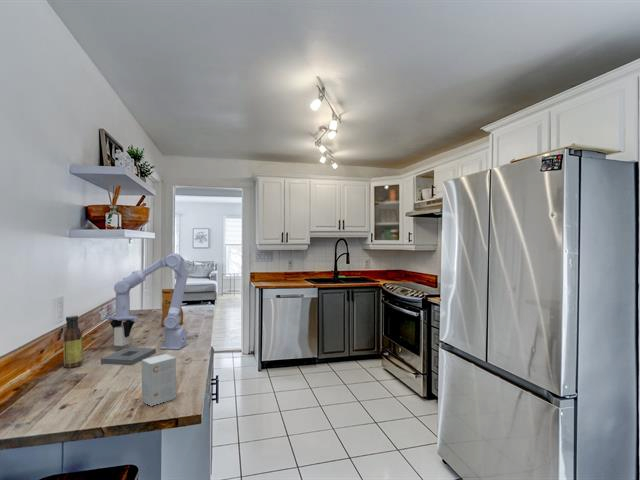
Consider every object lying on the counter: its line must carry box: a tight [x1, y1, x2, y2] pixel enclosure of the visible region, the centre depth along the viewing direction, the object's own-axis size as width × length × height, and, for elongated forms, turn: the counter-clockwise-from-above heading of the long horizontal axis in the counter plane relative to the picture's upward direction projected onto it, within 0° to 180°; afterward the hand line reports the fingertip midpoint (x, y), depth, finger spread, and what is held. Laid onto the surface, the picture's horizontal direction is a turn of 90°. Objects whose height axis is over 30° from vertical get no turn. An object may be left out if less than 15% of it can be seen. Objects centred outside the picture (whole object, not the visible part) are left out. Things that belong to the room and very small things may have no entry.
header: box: [100, 346, 157, 366], centre depth 152 cm, size 14×16×2 cm
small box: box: [141, 353, 177, 407], centre depth 111 cm, size 8×6×13 cm
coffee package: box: [160, 288, 184, 327], centre depth 215 cm, size 10×12×22 cm
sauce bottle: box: [62, 314, 84, 369], centre depth 143 cm, size 6×6×20 cm
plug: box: [113, 324, 131, 347], centre depth 164 cm, size 4×6×8 cm
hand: (122, 336), depth 164 cm, fingers closed on plug, 4 cm apart
